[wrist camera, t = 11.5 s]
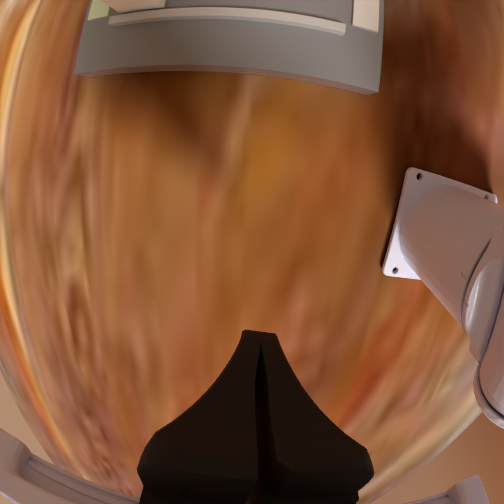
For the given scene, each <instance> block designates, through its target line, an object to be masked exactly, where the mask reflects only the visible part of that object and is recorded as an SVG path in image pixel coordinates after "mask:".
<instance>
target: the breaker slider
mask: <svg viewBox="0 0 504 504" xmlns="http://www.w3.org/2000/svg"><path fill="white" fill-rule="evenodd" d="M101 1H103V2H104V3H106V4H107V5H109V6H110V7H112V8H113V9H115V10H116V11H118V12H119V13H125V12H131V11H138V10H146V9H155V8H164V5H165V1H166V0H101Z"/></svg>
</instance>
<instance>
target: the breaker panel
mask: <svg viewBox="0 0 504 504" xmlns="http://www.w3.org/2000/svg"><path fill="white" fill-rule="evenodd" d="M383 28H384V0H166V1H165V5H164V8H155V9H146V10H138V11H131V12H125V13H119V12H118V11H116V10H115V9H113V8H112V7H110V6H109V5H107V4H106V3H104V2H103V1H101V0H90V2H89V5H88V9H87V12H86V16H85V20H84V24H83V29H82V33H81V38H80V42H79V47H78V53H77V58H76V64H75V70H74V74H75V75H80V76H85V77H96V76H104V75H113V74H123V73H137V72H156V71H207V72H227V73H240V74H251V75H261V76H269V77H277V78H284V79H291V80H297V81H303V82H309V83H314V84H319V85H324V86H329V87H334V88H338V89H343V90H347V91H351V92H355V93H359V94H363V95H367V96H368V95H371V94H375V93H378V92H379V83H380V73H381V61H382V47H383Z"/></svg>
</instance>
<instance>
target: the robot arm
mask: <svg viewBox="0 0 504 504" xmlns="http://www.w3.org/2000/svg"><path fill="white" fill-rule="evenodd" d="M418 173H420V178H419V179H418V180H417V174H418ZM485 196H486V198H484V197H485ZM395 267H396V270H395V271H392V270H393V268H395ZM382 272H383V273H384V274H385V275H387V276H394V277H403V278H412V279H420V280H422V281H423V282H424V283H425V285H426V286H427V287H428V288H429V289H430V290H431V291H432V293H433V294H434V295H435V296H436V297H437V298H438V299H439V301H440V302H441V303H442V304H443V305H444V307H445V308H446V309H447V310H448V311H449V313H450V314H451V315H452V316H453V317H454V319H455V320H456V321H457V322H458V324H459V325H460V326H461V327H462V329H463V330H464V331H465V332H466V333H467V335H468V336H469V338H470V349H469V350H470V351H471V353H472V354H473V356H474V357H475V358H476V360H477V361H478V363H479V364H478V367H477V369H476V372H475V376H474V393H475V397H476V400H477V403H478V405H479V407H480V408H481V410H482V411H483V413H484V414H485V415H486V416H487V417H488V418H489V420H491V421H492V422H493V423H495V424H496V425H498V426H500V427H502V428H504V207H502V206H500V205H498V204H497V197H496V195H494V194H491V193H489V192H486V191H484V190H481V189H478V188H476V187H473V186H470V185H467V184H464V183H461V182H458V181H456V180H453V179H450V178H446V177H443V176H440V175H437V174H434V173H431V172H427V171H424V170H420V169H417V168H413V167H410V168H408V169H407V170H406V173H405V178H404V183H403V188H402V193H401V197H400V202H399V206H398V210H397V215H396V219H395V223H394V227H393V230H392V234H391V238H390V242H389V245H388V249H387V252H386V256H385V259H384V263H383V266H382ZM137 473H138V475H139V477H140V479H141V481H142V484H143V486H144V487H143V490H142V494H141V498H137V497H134V496H130V495H127V494H124V493H121V492H118V491H115V490H112V489H109V488H106V487H104V486H101V485H98V484H96V483H93V482H91V481H88V480H86V479H83V478H81V477H79V476H76V475H74V474H72V473H70V472H67V471H65V470H63V469H61V468H59V467H57V466H55V465H53V464H51V463H49V462H47V461H45V460H43V459H41V458H39V457H38V456H36V455H34V454H32V453H31V452H30V450H29V449H28V447H27V446H26V445H25V444H24V443H22V442H21V441H20V440H18V439H17V438H15V437H13V436H12V435H10V434H9V433H7V432H6V431H4V430H3V429H1V428H0V493H1V494H2V495H3V496H5V497H6V498H7V499H9V500H10V501H12V502H13V503H15V504H356V502H357V501H359V496H358V491H359V490H360V489H361V488H362V487H364V486H365V485H366V484H367V483H368V482H369V481H370V480H371V479H372V477H373V476H374V470H373V465H372V462H371V459H370V456H369V454H368V451H367V449H366V448H365V447H363V446H362V445H360V444H359V443H358V442H356V441H355V440H353V439H352V438H350V437H349V436H348V435H346V434H345V433H344V432H343V431H342V430H341V429H339V428H338V427H337V426H336V425H335V424H334V423H333V422H332V421H331V420H330V419H329V418H328V417H327V416H326V415H325V414H324V413H323V412H322V411H321V410H320V409H319V408H318V406H317V405H316V404H315V403H314V402H313V400H312V399H311V398H310V396H309V395H308V394H307V392H306V391H305V390H304V388H303V387H302V385H301V384H300V382H299V380H298V379H297V377H296V375H295V374H294V372H293V370H292V368H291V366H290V365H289V363H288V361H287V359H286V357H285V355H284V352H283V350H282V348H281V346H280V343H279V340H278V338H277V335H276V334H275V333H267V332H259V331H251V330H244V331H242V335H241V339H240V341H239V344H238V346H237V348H236V350H235V352H234V354H233V356H232V357H231V359H230V361H229V362H228V364H227V366H226V367H225V368H224V370H223V371H222V373H221V374H220V376H219V377H218V378H217V379H216V381H215V382H214V383H213V384H212V386H211V387H210V388H209V389H208V390H207V391H206V392H205V393H204V394H203V395H202V396H201V397H200V398H199V399H198V400H197V401H196V402H195V403H194V404H193V405H192V406H191V407H190V408H189V409H187V410H186V411H185V412H184V413H182V414H181V415H180V416H179V417H177V418H176V419H175V420H173V421H172V422H170V423H169V424H167V425H166V426H164V427H163V428H161V429H160V430H158V431H157V432H155V434H154V435H153V437H152V438H151V439H150V441H149V442H148V444H147V445H146V447H145V449H144V451H143V453H142V455H141V458H140V461H139V464H138V467H137ZM405 504H490V503H489V500H488V497H487V495H486V492H485V489H484V486H483V484H482V481H481V478H480V476H479V475H478V474H477V475H475V476H472V477H470V478H467V479H465V480H462V481H460V482H458V483H457V484H455V485H453V486H452V487H451V488H450V489H449V490H448V491H445V492H442V493H439V494H436V495H433V496H430V497H427V498H424V499H420V500H416V501H413V502H409V503H405Z"/></svg>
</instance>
